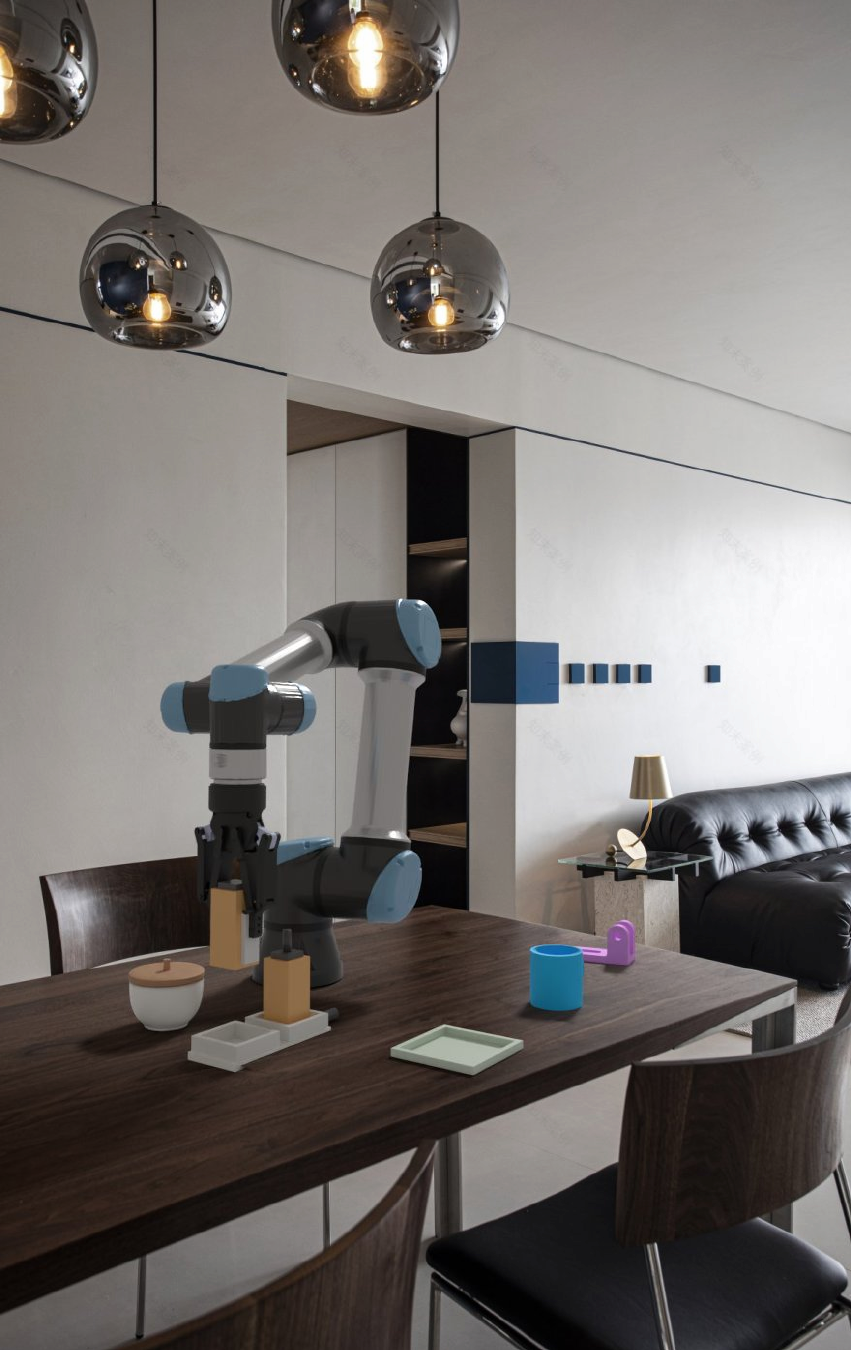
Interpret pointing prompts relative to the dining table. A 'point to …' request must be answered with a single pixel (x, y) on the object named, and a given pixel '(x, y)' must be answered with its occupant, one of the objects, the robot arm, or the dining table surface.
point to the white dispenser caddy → (267, 1016)
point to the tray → (457, 1049)
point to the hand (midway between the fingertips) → (235, 959)
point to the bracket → (614, 946)
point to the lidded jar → (166, 994)
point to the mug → (556, 977)
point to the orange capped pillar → (227, 925)
